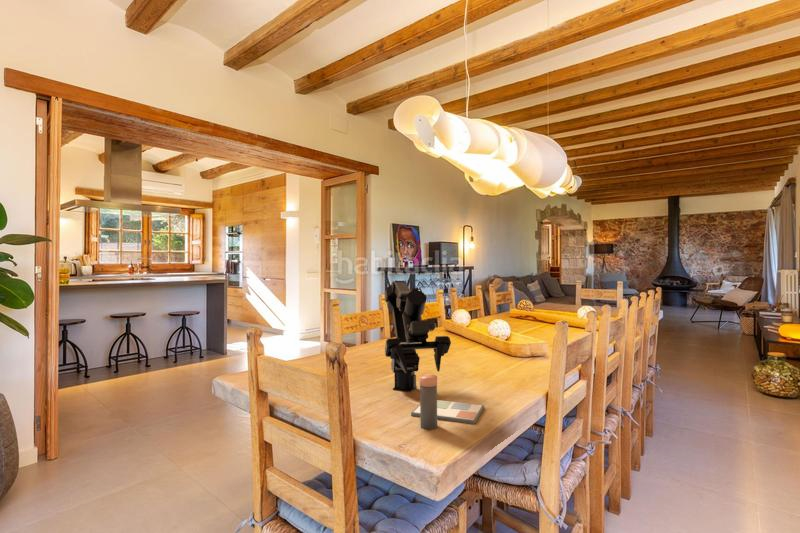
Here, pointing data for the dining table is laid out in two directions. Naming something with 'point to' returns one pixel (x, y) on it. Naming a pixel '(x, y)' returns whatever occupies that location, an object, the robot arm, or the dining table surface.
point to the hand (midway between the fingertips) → (422, 371)
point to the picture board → (455, 411)
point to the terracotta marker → (428, 401)
